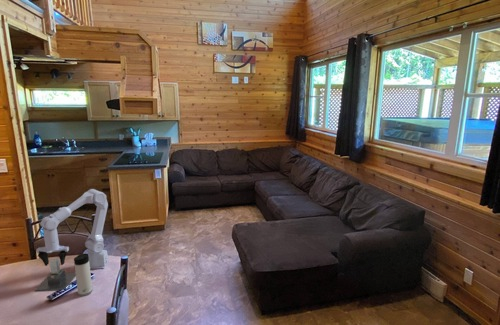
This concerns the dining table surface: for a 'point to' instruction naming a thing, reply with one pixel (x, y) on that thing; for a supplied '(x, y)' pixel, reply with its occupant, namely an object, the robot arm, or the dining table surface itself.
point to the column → (55, 266)
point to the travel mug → (83, 274)
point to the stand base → (56, 281)
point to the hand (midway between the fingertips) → (54, 264)
